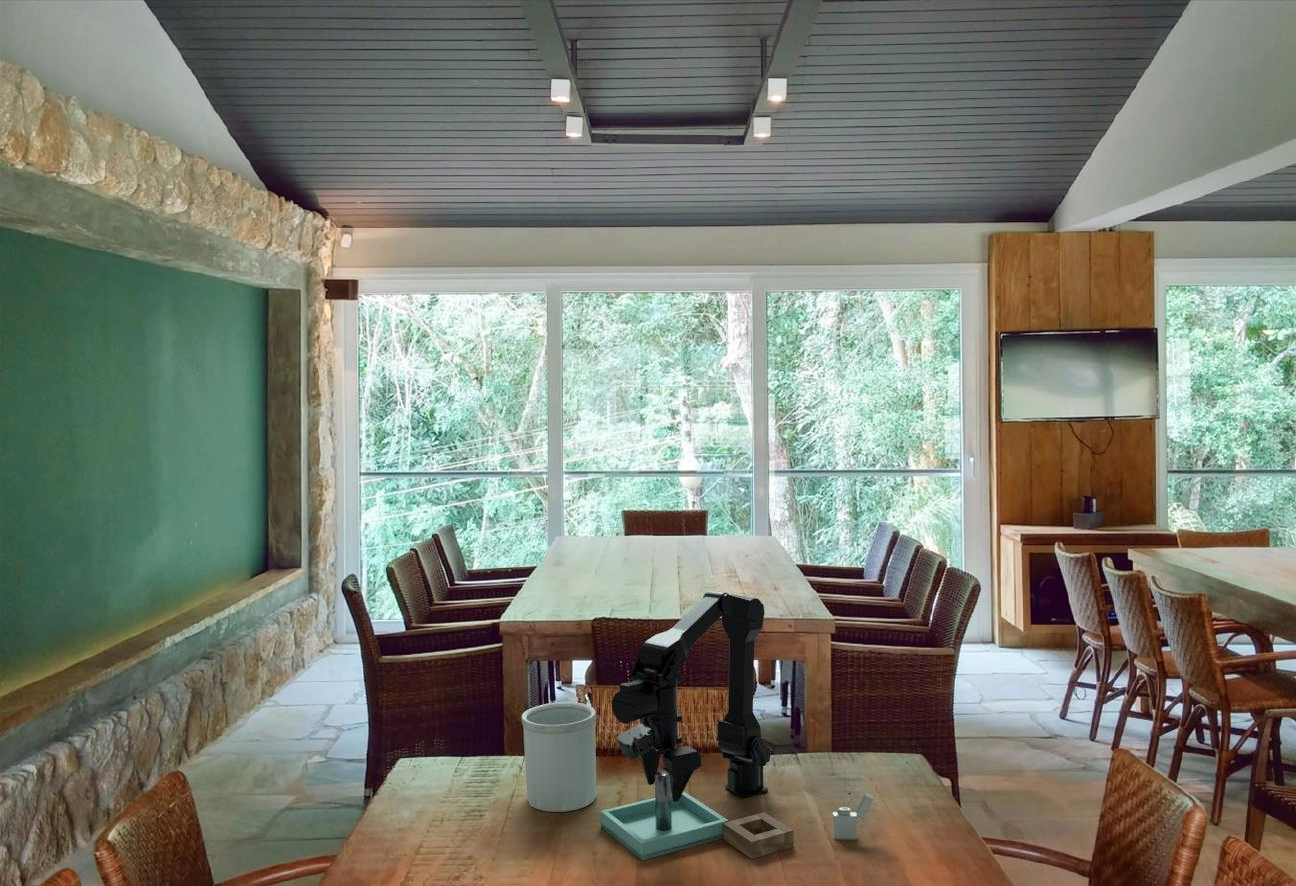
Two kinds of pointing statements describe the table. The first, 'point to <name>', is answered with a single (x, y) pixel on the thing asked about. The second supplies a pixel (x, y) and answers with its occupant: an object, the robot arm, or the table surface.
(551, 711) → the utensil holder
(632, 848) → the tray
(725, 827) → the pin holder
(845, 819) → the lighter
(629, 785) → the table surface
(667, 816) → the pin
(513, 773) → the table surface
